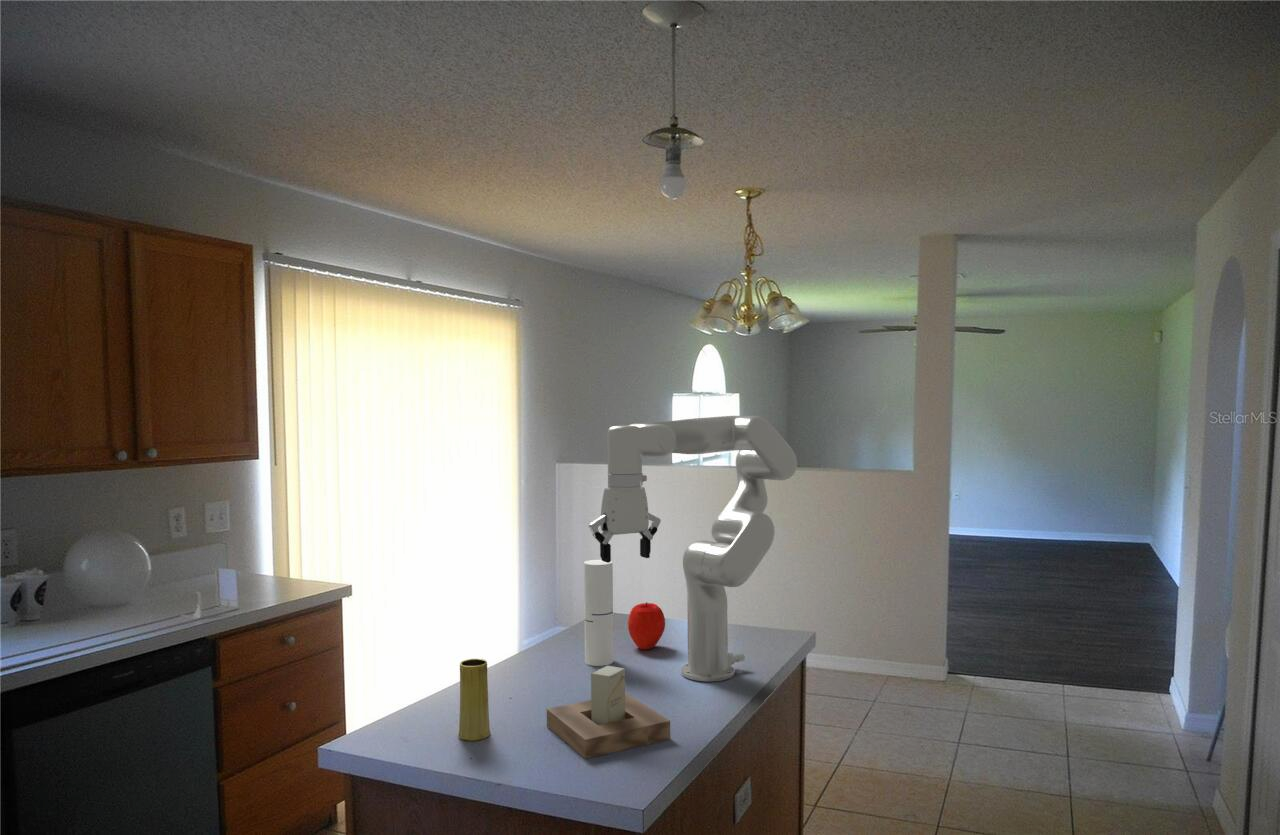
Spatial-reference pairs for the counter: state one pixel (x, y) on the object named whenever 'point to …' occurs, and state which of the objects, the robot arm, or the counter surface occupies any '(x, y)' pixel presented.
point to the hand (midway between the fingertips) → (625, 559)
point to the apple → (646, 625)
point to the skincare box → (608, 695)
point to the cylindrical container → (598, 612)
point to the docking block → (607, 728)
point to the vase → (473, 700)
